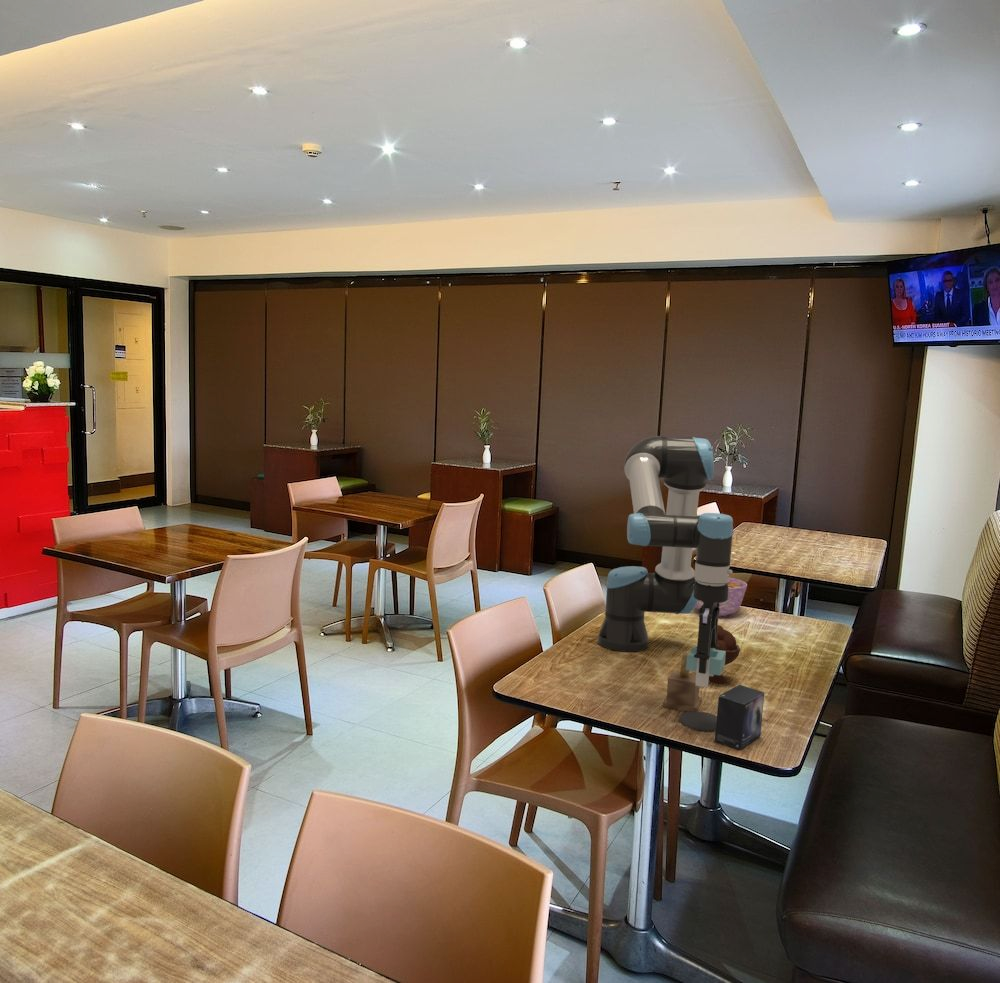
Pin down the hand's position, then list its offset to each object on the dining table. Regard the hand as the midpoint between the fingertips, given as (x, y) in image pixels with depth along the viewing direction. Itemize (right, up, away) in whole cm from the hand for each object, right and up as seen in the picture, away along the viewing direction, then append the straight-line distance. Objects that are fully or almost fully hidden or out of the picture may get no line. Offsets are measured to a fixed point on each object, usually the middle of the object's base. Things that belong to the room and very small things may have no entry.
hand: (704, 680), depth 180 cm
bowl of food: (+29, 0, +98) cm, 102 cm away
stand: (-2, -9, +12) cm, 15 cm away
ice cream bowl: (+11, -7, +30) cm, 33 cm away
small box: (+5, -11, -7) cm, 15 cm away
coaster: (0, -10, +1) cm, 10 cm away
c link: (0, +3, 0) cm, 3 cm away
